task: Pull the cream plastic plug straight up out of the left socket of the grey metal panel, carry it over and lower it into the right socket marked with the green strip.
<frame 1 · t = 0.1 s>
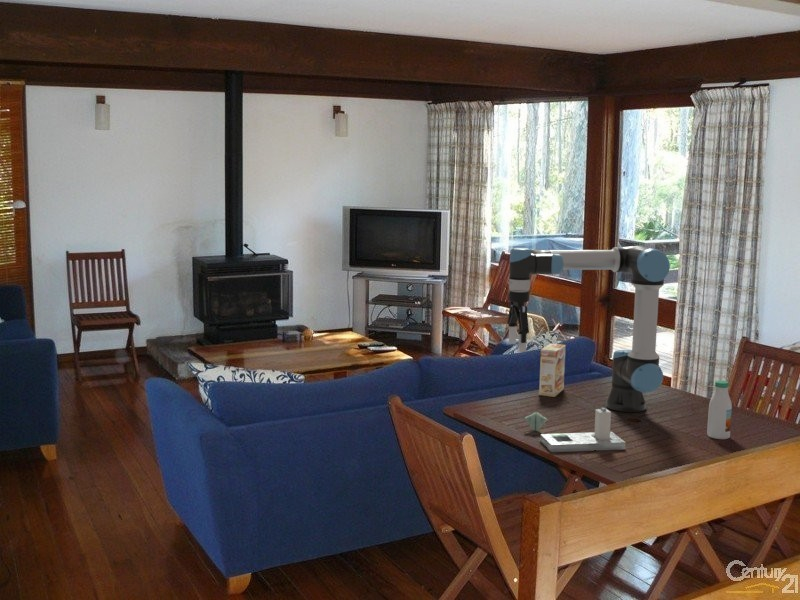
hand: (517, 347, 328), 28 cm above the table, fingers open, 13 cm apart
coffeecake box: (551, 392, 375), on the table
milk bottle: (718, 437, 317), on the table
panel: (582, 445, 305), on the table
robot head: (535, 431, 321), on the table
plug: (601, 444, 306), resting in panel
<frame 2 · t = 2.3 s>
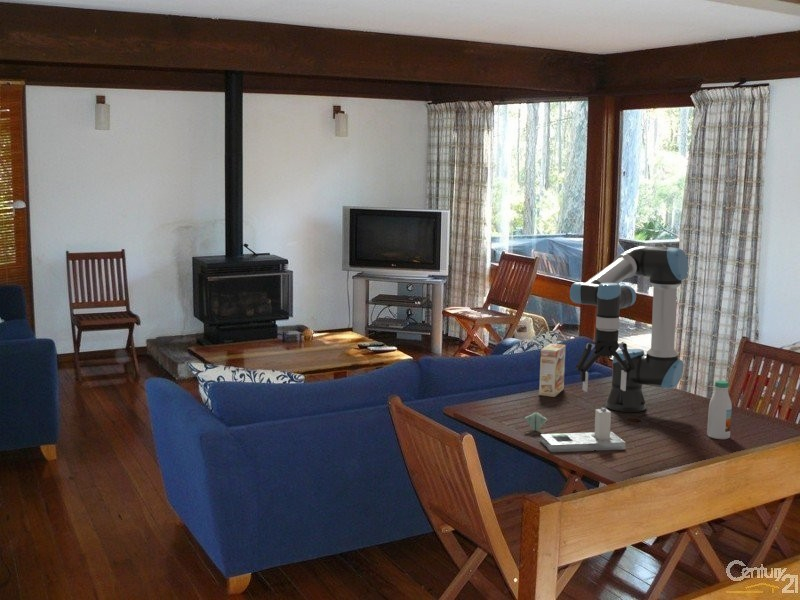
hand: (603, 390, 303), 19 cm above the table, fingers open, 13 cm apart
nothing on the table moved.
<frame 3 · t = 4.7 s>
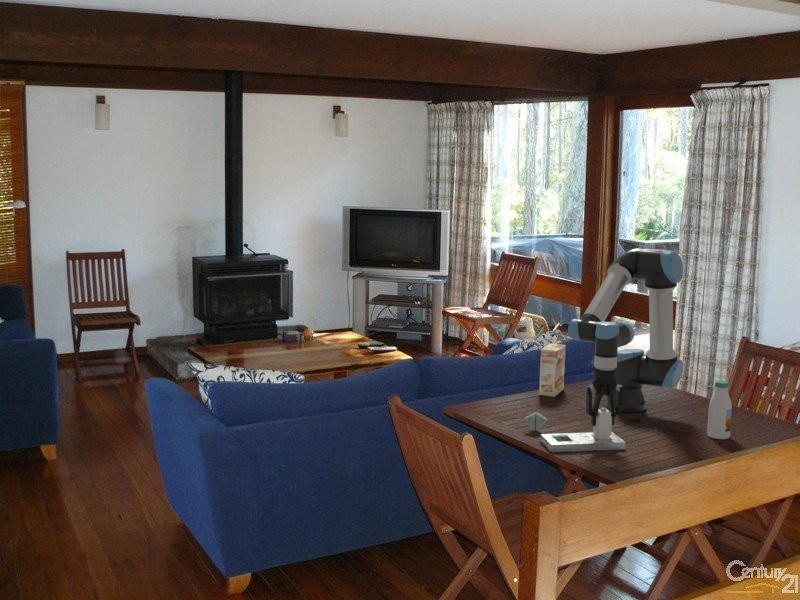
hand: (602, 434, 306), 4 cm above the table, fingers closed on plug, 4 cm apart
plug: (601, 444, 306), resting in panel, touching gripper
everything else where it was.
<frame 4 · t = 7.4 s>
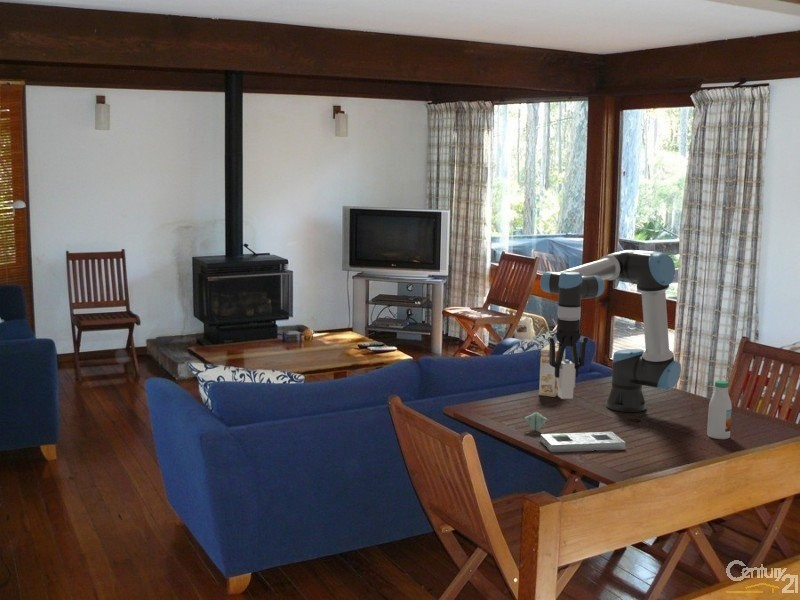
hand: (565, 386, 301), 21 cm above the table, fingers closed on plug, 4 cm apart
plug: (565, 397, 301), point 17 cm above the table, touching gripper
everything else where it was.
when the fingers open (5 cm above the table, at t = 10.2 s): plug stays where it is, resting in panel.
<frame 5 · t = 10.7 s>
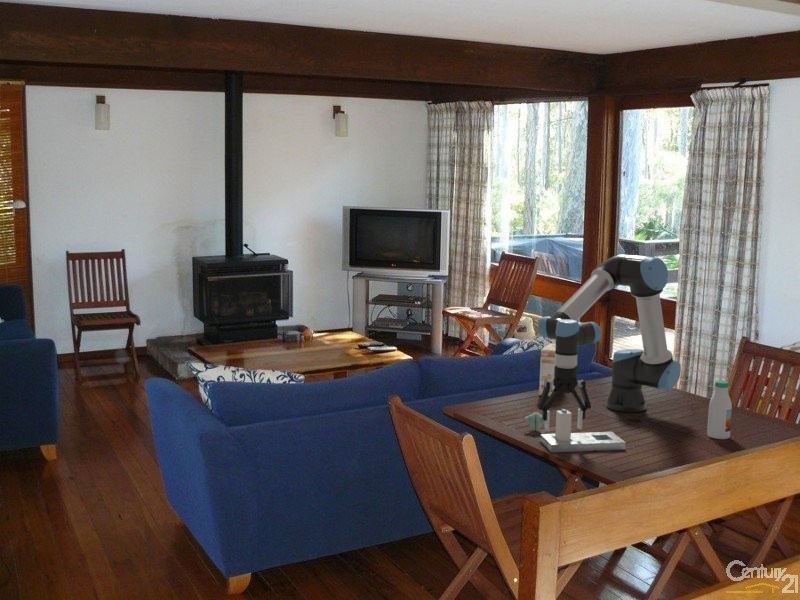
hand: (563, 429, 303), 6 cm above the table, fingers open, 11 cm apart
plug: (562, 446, 304), resting in panel
everything else where it was.
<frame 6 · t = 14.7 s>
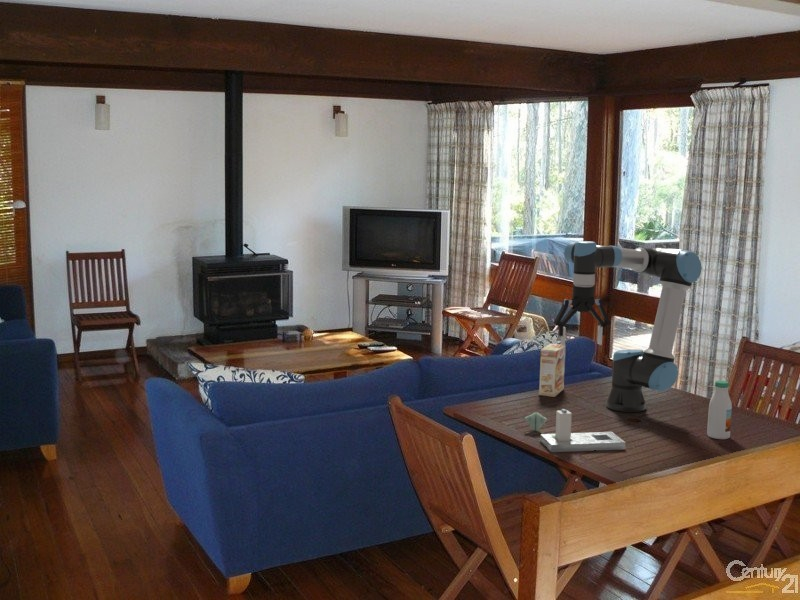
hand: (581, 344, 316), 32 cm above the table, fingers open, 13 cm apart
nothing on the table moved.
at the end: plug 0.0 cm from the target spot on the panel, point 0.0 cm above the panel's base; plug tilted 0°; the gripper is holding nothing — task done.
